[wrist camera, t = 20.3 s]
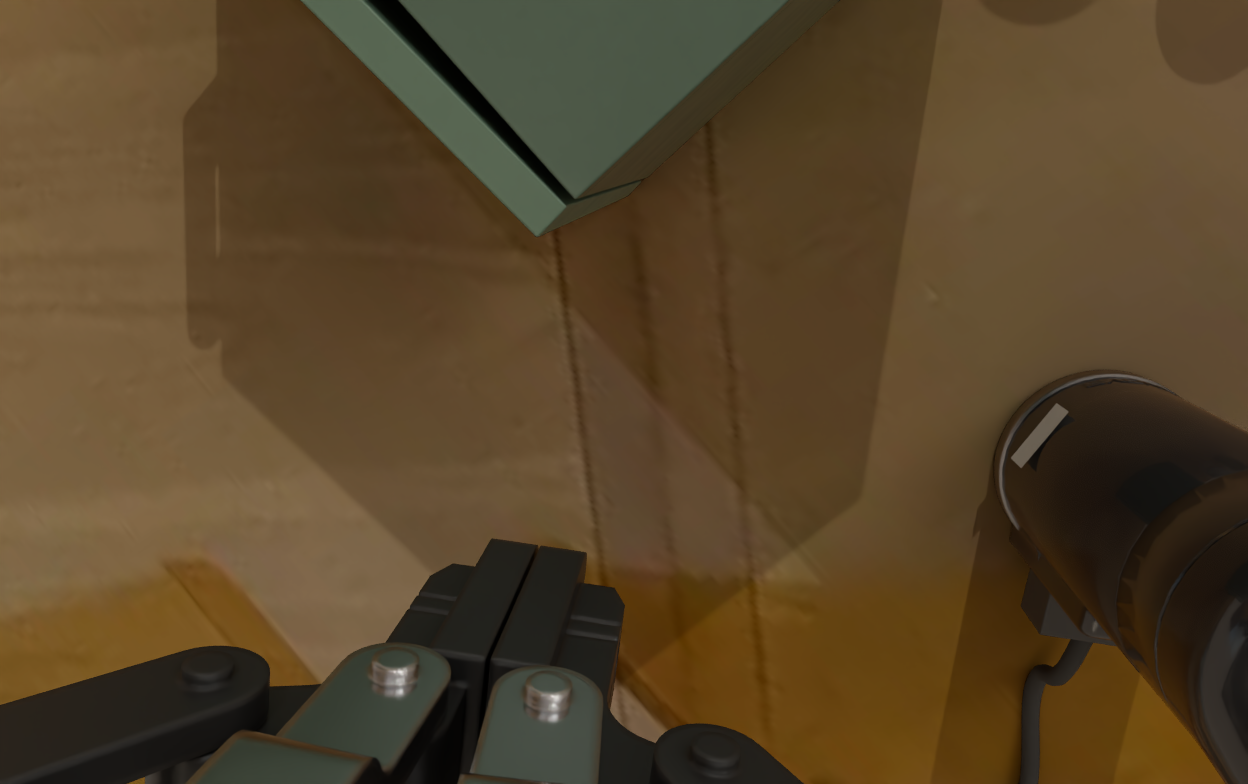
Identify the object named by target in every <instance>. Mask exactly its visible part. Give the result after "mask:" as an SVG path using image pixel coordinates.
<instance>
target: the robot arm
mask: <svg viewBox="0 0 1248 784" xmlns="http://www.w3.org/2000/svg"><path fill="white" fill-rule="evenodd" d="M994 482H995V488H996V492H997V496H998V498H999V501H1000V504H1001V506H1002V508H1003V510H1004V512H1005V513H1006V515H1007V516H1008V518H1009V519H1010V521H1011V522H1012V530H1011V534H1010V542H1011V544H1012V545H1013V546H1014V548H1015V549H1016V550H1017V551H1018V553H1019V554H1020V555H1021V557H1022V558H1023V559H1024V560H1025V562H1026V563H1027V564H1028V566H1029V567H1030V571H1029V575H1028V579H1027V583H1026V587H1025V591H1024V595H1023V599H1022V603H1021V607H1022V609H1023V610H1024V612H1025V613H1026V615H1027V616H1028V618H1029V619H1030V621H1031V622H1032V623H1033V625H1034V626H1035V628H1036V629H1037V631H1038V632H1039V634H1041V635H1046V636H1053V637H1060V638H1066V639H1071V640H1070V642H1069V644H1068V646H1067V648H1066V650H1065V652H1064V653H1063V655H1062V657H1061V659H1060V660H1059V662H1058V663H1057V664H1056V665H1055V666H1054V667H1051V666H1049V665H1046V664H1042V665H1037V666H1035V667H1034V668H1033V669H1032V670H1031V672H1030V673H1029V676H1028V678H1027V680H1026V683H1025V686H1024V690H1023V700H1022V758H1021V775H1020V782H1019V784H1038V778H1039V755H1040V749H1039V712H1040V702H1041V696H1042V693H1043V689H1044V687H1045V685H1046V684H1049V685H1051V686H1059V685H1063V684H1065V683H1066V682H1067V681H1068V680H1069V679H1070V678H1071V677H1072V676H1073V675H1074V674H1075V672H1076V671H1077V670H1078V668H1079V667H1080V665H1081V664H1082V662H1083V660H1084V658H1085V657H1086V655H1087V653H1088V651H1089V649H1090V647H1091V645H1092V644H1093V643H1099V644H1106V645H1112V646H1117V647H1118V648H1119V649H1120V650H1121V652H1122V653H1123V654H1124V655H1125V656H1126V658H1127V659H1128V660H1129V661H1130V662H1131V664H1132V665H1133V666H1134V667H1135V669H1136V670H1137V671H1138V672H1139V673H1140V674H1141V675H1142V676H1143V678H1144V679H1145V680H1146V681H1147V682H1148V684H1149V685H1150V686H1151V687H1152V689H1153V690H1154V691H1155V692H1156V693H1157V695H1158V696H1159V697H1160V698H1161V699H1162V701H1163V702H1164V703H1165V704H1166V705H1167V707H1168V708H1169V709H1170V710H1171V711H1172V713H1173V714H1174V715H1175V716H1176V717H1177V719H1178V720H1179V721H1180V722H1181V724H1182V725H1183V726H1184V727H1185V728H1186V730H1187V731H1188V732H1189V733H1190V734H1191V736H1192V737H1193V738H1194V739H1195V741H1196V742H1197V743H1198V745H1199V746H1200V747H1201V749H1202V750H1203V752H1204V753H1205V754H1206V756H1207V757H1208V759H1209V760H1210V762H1211V763H1212V765H1213V766H1214V767H1215V769H1216V770H1217V772H1218V773H1219V775H1220V776H1221V778H1222V779H1223V781H1224V782H1225V784H1248V432H1246V431H1244V430H1243V429H1241V428H1239V427H1237V426H1235V425H1233V424H1231V423H1229V422H1227V421H1225V420H1223V419H1221V418H1219V417H1217V416H1215V415H1213V414H1211V413H1209V412H1207V411H1205V410H1203V409H1202V408H1200V407H1198V406H1196V405H1194V404H1192V403H1190V402H1188V401H1186V400H1184V399H1183V398H1181V397H1179V396H1178V395H1176V394H1175V393H1173V392H1172V391H1170V390H1169V389H1167V388H1165V387H1163V386H1161V385H1159V384H1157V383H1155V382H1154V381H1152V380H1150V379H1147V378H1145V377H1142V376H1140V375H1137V374H1133V373H1130V372H1124V371H1118V370H1093V371H1086V372H1080V373H1076V374H1073V375H1069V376H1066V377H1064V378H1061V379H1059V380H1057V381H1055V382H1052V383H1050V384H1049V385H1047V386H1045V387H1044V388H1042V389H1040V390H1039V391H1038V392H1036V393H1035V394H1033V395H1032V396H1031V397H1030V398H1029V399H1028V400H1026V401H1025V402H1024V403H1023V404H1022V405H1021V406H1020V408H1019V409H1018V410H1017V411H1016V412H1015V414H1014V415H1013V416H1012V417H1011V419H1010V421H1009V422H1008V424H1007V425H1006V427H1005V429H1004V431H1003V433H1002V435H1001V438H1000V440H999V443H998V446H997V450H996V454H995V460H994ZM586 560H587V553H586V552H580V551H574V550H567V549H560V548H554V547H547V546H540V548H539V549H538V545H533V544H526V543H520V542H513V541H506V540H500V539H493V538H492V539H491V540H490V542H489V544H488V545H487V547H486V549H485V551H484V552H483V554H482V556H481V557H480V559H479V561H478V563H477V564H476V566H475V567H473V566H466V565H460V564H451V565H449V566H448V567H446V568H444V569H442V570H440V571H438V572H437V573H435V574H433V575H431V576H430V577H429V579H428V580H427V582H426V583H425V585H424V586H423V588H422V589H421V590H420V592H419V596H416V598H415V599H414V601H413V602H412V604H411V605H410V609H408V610H407V611H406V613H405V614H404V616H403V617H402V619H401V620H400V622H399V623H398V625H397V626H396V628H395V629H394V631H393V632H392V634H391V635H390V637H389V638H388V640H387V641H386V643H381V644H375V645H371V646H367V647H364V648H361V649H359V650H357V651H355V652H353V653H351V654H350V655H348V656H347V657H346V658H345V659H344V660H343V661H342V662H341V663H340V664H339V665H338V666H337V667H336V669H335V670H334V671H333V672H332V673H331V674H330V675H329V676H328V677H327V679H326V680H325V681H324V682H323V683H322V684H317V685H302V686H273V687H270V668H269V665H268V663H267V662H266V661H265V659H264V658H262V657H261V656H260V655H258V654H256V653H254V652H252V651H250V650H246V649H243V648H238V647H231V646H207V647H199V648H193V649H189V650H185V651H181V652H178V653H175V654H171V655H168V656H164V657H161V658H158V659H154V660H151V661H148V662H144V663H141V664H137V665H134V666H131V667H127V668H124V669H121V670H117V671H114V672H110V673H107V674H104V675H100V676H97V677H94V678H90V679H87V680H83V681H80V682H77V683H73V684H70V685H67V686H63V687H60V688H56V689H53V690H50V691H46V692H43V693H40V694H36V695H33V696H29V697H26V698H23V699H19V700H16V701H13V702H9V703H6V704H2V705H0V784H127V783H130V782H132V781H135V780H137V779H140V778H143V777H145V784H803V783H802V782H801V781H800V780H799V779H798V778H797V777H795V776H794V775H793V774H792V773H791V772H790V771H789V770H787V769H786V768H785V767H784V766H783V765H782V764H781V763H779V762H778V761H777V760H776V759H775V758H774V757H773V756H771V755H770V754H769V753H768V752H767V751H766V750H765V749H763V748H762V747H761V746H760V745H759V744H757V743H756V742H755V741H754V740H752V739H751V738H749V737H747V736H745V735H744V734H742V733H739V732H737V731H735V730H732V729H729V728H726V727H722V726H718V725H711V724H686V725H682V726H678V727H675V728H672V729H670V730H668V731H667V732H665V733H664V734H663V735H662V736H661V737H660V738H659V739H658V741H657V742H656V743H654V742H651V741H648V740H646V739H644V738H642V737H639V736H637V735H635V734H634V733H632V732H630V731H629V730H627V729H626V728H625V727H623V726H622V725H621V724H620V723H619V722H618V721H617V720H616V719H615V718H614V716H613V715H612V714H611V712H610V707H611V702H612V696H613V690H614V683H615V675H616V668H617V660H618V653H619V645H620V638H621V630H622V623H623V615H624V608H625V605H624V603H623V602H622V600H621V598H620V597H619V595H618V593H617V591H616V590H615V588H612V587H605V586H599V585H592V584H585V583H584V579H585V571H586Z"/></svg>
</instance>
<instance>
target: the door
mask: <svg viewBox="0 0 1248 784" xmlns="http://www.w3.org/2000/svg"><path fill="white" fill-rule="evenodd" d="M301 1H302V2H303V3H304V4H305V5H306V6H307V7H308V8H309V9H310V10H311V11H312V12H313V13H314V14H315V15H316V16H317V17H318V19H319V20H320V21H321V22H322V23H323V24H324V25H325V26H326V27H327V28H328V29H329V30H330V31H331V32H332V33H333V34H334V35H335V36H336V37H337V38H338V39H339V40H340V41H341V42H342V43H343V44H344V45H345V46H346V47H347V48H348V49H349V50H350V51H351V52H352V53H353V54H354V55H355V56H356V57H357V58H358V59H359V60H360V61H361V62H362V63H363V64H364V65H365V66H366V67H367V68H368V69H369V70H370V71H371V72H372V73H373V74H374V75H375V76H376V77H377V78H378V79H379V80H380V81H381V82H382V83H383V84H384V85H385V86H386V87H387V88H388V89H389V90H390V91H391V92H392V93H393V94H394V95H395V96H396V97H397V98H398V99H399V100H400V101H401V102H402V103H403V104H404V105H405V106H406V107H407V108H408V109H409V110H410V111H411V112H412V113H413V114H414V115H415V116H416V117H417V118H418V119H419V120H420V121H421V122H422V123H423V124H424V125H425V126H426V127H427V128H428V129H429V130H430V131H431V132H432V133H433V134H434V135H435V136H436V137H437V138H438V139H439V140H440V141H441V142H442V143H443V144H444V145H445V146H446V147H447V148H448V149H449V150H450V151H451V152H452V153H453V154H454V155H455V156H456V157H457V158H458V159H459V160H460V161H461V162H462V163H463V164H464V165H465V166H466V167H467V168H468V169H469V170H470V171H471V172H472V173H473V174H474V175H475V176H476V177H477V178H478V179H479V180H480V181H481V182H482V183H483V184H484V185H485V186H486V187H487V188H488V189H489V190H490V191H491V192H492V193H493V194H494V195H495V196H496V197H497V198H498V199H499V200H500V201H501V202H502V203H503V204H504V205H505V206H506V207H507V208H508V209H509V210H510V211H511V212H512V213H513V214H514V215H515V216H516V217H517V218H518V219H519V220H520V221H521V222H522V223H523V224H524V225H525V226H526V227H527V228H528V229H529V230H530V231H531V232H532V233H533V234H534V235H535V236H536V237H539V236H541V235H544V234H546V233H548V232H550V231H552V230H554V229H557V228H559V227H561V226H563V225H565V224H568V223H570V222H572V221H574V220H576V219H579V218H581V217H583V216H585V215H587V214H589V213H592V212H594V211H596V210H598V209H600V208H603V207H605V206H607V205H609V204H611V203H614V202H616V201H618V200H620V199H622V198H625V197H627V196H628V195H629V194H630V193H631V192H632V191H633V190H634V189H635V188H636V187H637V186H638V185H639V184H640V183H641V180H637V181H633V182H630V183H627V184H623V185H620V186H617V187H614V188H610V189H607V190H604V191H600V192H597V193H594V194H591V195H587V196H584V197H581V198H578V199H574V198H573V197H572V196H571V195H570V194H569V192H568V191H567V190H566V189H565V188H564V187H563V186H562V185H561V183H560V182H559V181H558V180H557V179H556V178H555V177H554V176H553V174H552V173H551V172H550V171H549V170H548V169H547V168H546V167H545V165H544V164H543V163H542V162H541V161H540V160H539V159H538V158H537V156H536V155H535V154H534V153H533V152H532V151H531V150H530V148H529V147H528V146H527V145H526V144H525V143H524V142H523V141H522V139H521V138H520V137H519V136H518V135H517V134H516V133H515V132H514V130H513V129H512V128H511V127H510V126H509V125H508V124H507V123H506V121H505V120H504V119H503V118H502V117H501V116H500V115H499V114H498V112H497V111H496V110H495V109H494V108H493V107H492V106H491V105H490V103H489V102H488V101H487V100H486V99H485V98H484V97H483V95H482V94H481V93H480V92H479V91H478V90H477V89H476V88H475V86H474V85H473V84H472V83H471V82H470V81H469V80H468V79H467V77H466V76H465V75H464V74H463V73H462V72H461V71H460V70H459V68H458V67H457V66H456V65H455V64H454V63H453V62H452V61H451V59H450V58H449V57H448V56H447V55H446V54H445V53H444V51H443V50H442V49H441V48H440V47H439V46H438V45H437V44H436V42H435V41H434V40H433V39H432V38H431V37H430V36H429V35H428V33H427V32H426V31H425V30H424V29H423V28H422V27H421V26H420V24H419V23H418V22H417V21H416V20H415V19H414V18H413V17H412V15H411V14H410V13H409V12H408V11H407V10H406V9H405V8H404V6H403V5H402V4H401V3H400V2H399V1H398V0H301Z"/></svg>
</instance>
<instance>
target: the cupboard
mask: <svg viewBox="0 0 1248 784" xmlns="http://www.w3.org/2000/svg"><path fill="white" fill-rule="evenodd" d="M398 1H399V2H400V3H401V4H402V5H403V6H404V8H405V9H406V10H407V11H408V12H409V13H410V14H411V15H412V17H413V18H414V19H415V20H416V21H417V22H418V23H419V24H420V26H421V27H422V28H423V29H424V30H425V31H426V32H427V33H428V35H429V36H430V37H431V38H432V39H433V40H434V41H435V42H436V44H437V45H438V46H439V47H440V48H441V49H442V50H443V51H444V53H445V54H446V55H447V56H448V57H449V58H450V59H451V61H452V62H453V63H454V64H455V65H456V66H457V67H458V68H459V70H460V71H461V72H462V73H463V74H464V75H465V76H466V77H467V79H468V80H469V81H470V82H471V83H472V84H473V85H474V86H475V88H476V89H477V90H478V91H479V92H480V93H481V94H482V95H483V97H484V98H485V99H486V100H487V101H488V102H489V103H490V105H491V106H492V107H493V108H494V109H495V110H496V111H497V112H498V114H499V115H500V116H501V117H502V118H503V119H504V120H505V121H506V123H507V124H508V125H509V126H510V127H511V128H512V129H513V130H514V132H515V133H516V134H517V135H518V136H519V137H520V138H521V139H522V141H523V142H524V143H525V144H526V145H527V146H528V147H529V148H530V150H531V151H532V152H533V153H534V154H535V155H536V156H537V158H538V159H539V160H540V161H541V162H542V163H543V164H544V165H545V167H546V168H547V169H548V170H549V171H550V172H551V173H552V174H553V176H554V177H555V178H556V179H557V180H558V181H559V182H560V183H561V185H562V186H563V187H564V188H565V189H566V190H567V191H568V192H569V194H570V195H571V196H572V197H573V198H574V199H578V198H581V197H584V196H587V195H591V194H594V193H597V192H600V191H604V190H607V189H610V188H614V187H617V186H620V185H623V184H627V183H630V182H633V181H637V180H640V179H643V178H647V177H648V176H649V175H651V174H652V173H653V172H654V171H655V170H656V169H657V168H658V167H659V166H660V165H661V164H663V163H664V162H665V161H666V160H667V159H668V158H669V157H670V156H671V155H672V154H673V153H674V152H676V151H677V150H678V149H679V148H680V147H681V146H682V145H683V144H684V143H685V142H686V141H688V140H689V139H690V138H691V137H692V136H693V135H694V134H695V133H696V132H697V131H698V130H699V129H701V128H702V127H703V126H704V125H705V124H706V123H707V122H708V121H709V120H710V119H711V118H713V117H714V116H715V115H716V114H717V113H718V112H719V111H720V110H721V109H722V108H723V107H724V106H726V105H727V104H728V103H729V102H730V101H731V100H732V99H733V98H734V97H735V96H736V95H738V94H739V93H740V92H741V91H742V90H743V89H744V88H745V87H746V86H747V85H748V84H749V83H751V82H752V81H753V80H754V79H755V78H756V77H757V76H758V75H759V74H760V73H761V72H763V71H764V70H765V69H766V68H767V67H768V66H769V65H770V64H771V63H772V62H773V61H774V60H776V59H777V58H778V57H779V56H780V55H781V54H782V53H783V52H784V51H785V50H786V49H788V48H789V47H790V46H791V45H792V44H793V43H794V42H795V41H796V40H797V39H798V38H799V37H801V36H802V35H803V34H804V33H805V32H806V31H807V30H808V29H809V28H810V27H811V26H813V25H814V24H815V23H816V22H817V21H818V20H819V19H820V18H821V17H822V16H823V15H824V14H826V13H827V12H828V11H829V10H830V9H831V8H832V7H833V6H834V5H835V4H836V3H838V2H839V1H840V0H398Z"/></svg>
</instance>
